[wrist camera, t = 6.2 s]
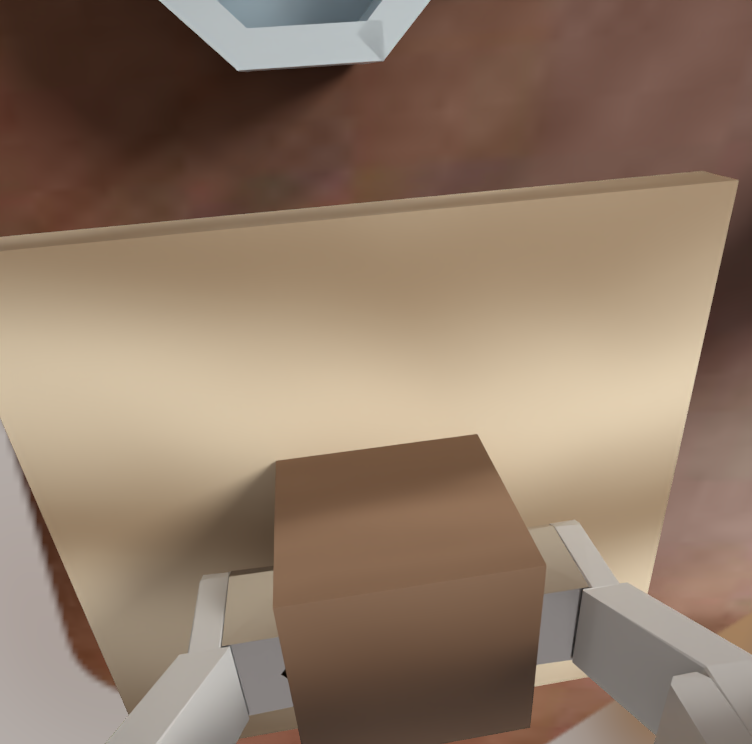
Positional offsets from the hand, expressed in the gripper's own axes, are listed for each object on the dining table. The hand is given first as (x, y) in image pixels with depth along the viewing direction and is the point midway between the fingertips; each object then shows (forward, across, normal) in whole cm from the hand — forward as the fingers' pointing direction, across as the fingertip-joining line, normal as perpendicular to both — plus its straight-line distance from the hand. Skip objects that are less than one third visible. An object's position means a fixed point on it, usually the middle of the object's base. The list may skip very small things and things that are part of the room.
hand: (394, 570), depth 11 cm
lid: (+2, 0, 0) cm, 2 cm away
